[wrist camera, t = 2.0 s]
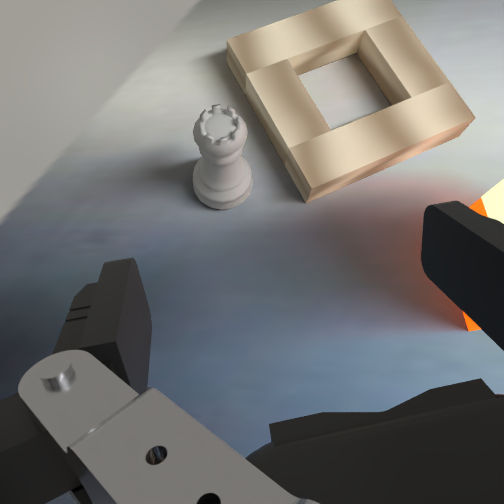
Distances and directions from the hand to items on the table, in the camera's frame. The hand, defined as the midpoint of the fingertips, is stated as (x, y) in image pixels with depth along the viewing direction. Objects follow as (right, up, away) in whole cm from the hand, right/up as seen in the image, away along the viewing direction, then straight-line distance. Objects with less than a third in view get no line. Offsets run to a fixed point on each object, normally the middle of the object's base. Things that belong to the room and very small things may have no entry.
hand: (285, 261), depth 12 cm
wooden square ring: (+6, +13, +24) cm, 28 cm away
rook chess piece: (-3, +5, +21) cm, 22 cm away
